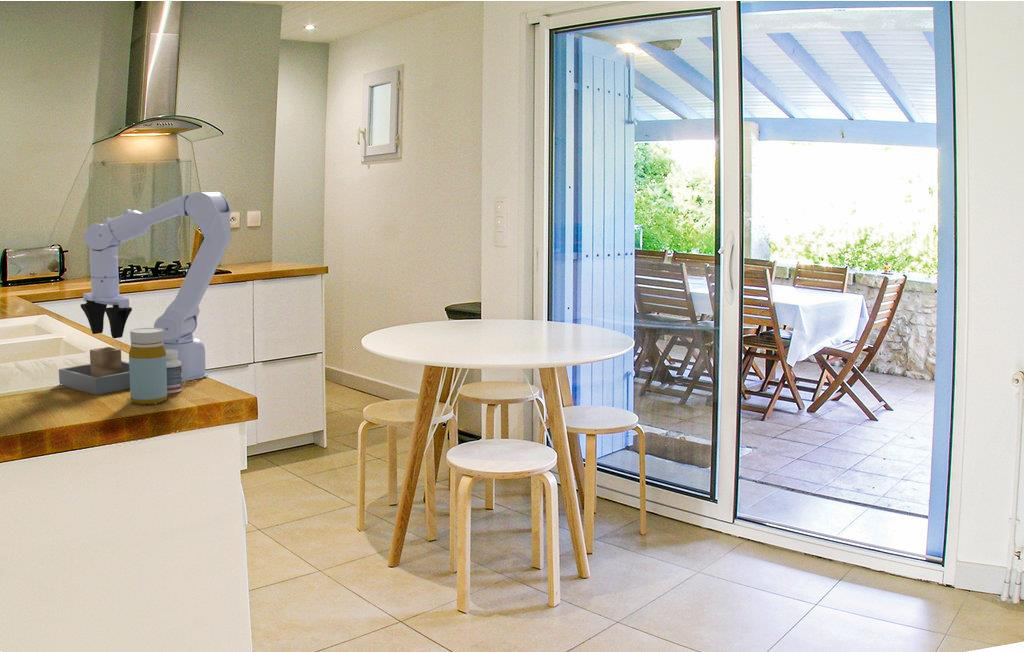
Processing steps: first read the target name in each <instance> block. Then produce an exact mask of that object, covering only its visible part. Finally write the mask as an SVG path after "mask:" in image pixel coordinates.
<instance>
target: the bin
mask: <svg viewBox="0 0 1024 652" xmlns="http://www.w3.org/2000/svg"><path fill="white" fill-rule="evenodd" d="M121 364H122V373H119V374H114V375H108V376H103V377H97V378H96V377H93V376H91V367H90V363H87V364H82V365H75V366H70V367H65V368H64V367H63V368H59V369H58V380H59V381H58V382H59V383H60V384H62V385H63V387H66V388H70V389H74V390H78V391H80V392H84V393H87V394H90V395H96V396H99V395H103V394H108V393H113V392H117V391H122V390H127V389H130V372H129V361H128V362H127V361H125V360H121ZM59 383H58V384H59ZM60 384H59V385H60ZM62 385H61V386H62Z"/></svg>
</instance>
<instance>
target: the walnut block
mask: <svg viewBox="0 0 1024 652" xmlns="http://www.w3.org/2000/svg"><path fill="white" fill-rule="evenodd" d="M89 359H90V360H89V361H90V362H89V364H90V367H91V376H93V377H96V378H97V377H103V376H108V375H114V374H119V373H122V364H121V361H122V350H121V349H120V348H114V347H111V346H106V347H98V348H93V349H89Z"/></svg>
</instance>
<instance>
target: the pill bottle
mask: <svg viewBox="0 0 1024 652" xmlns="http://www.w3.org/2000/svg"><path fill="white" fill-rule="evenodd" d="M165 351H166V368H167V394H175V393H179V392H182V390H183V382H182V364H181V361H179V360H177V358H178V351H177V350H172V349H168V350H165Z"/></svg>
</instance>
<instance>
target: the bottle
mask: <svg viewBox="0 0 1024 652" xmlns="http://www.w3.org/2000/svg"><path fill="white" fill-rule="evenodd" d="M128 362H129V372H130V388H129V391H130V393H129V394H130V395H129V396H130V401H131V402H132V403H133V404H135V405H138V406H139V405H140V406H147V405H146V404H154V405H156V404H155V403H159V404H161V403H160V402H162V403H164V402H165V401H166V400H167V398H168V393H167V368H166V351H165V349H164V346H163V329H160V328H154V327H139V328H134V329H130V348H129V352H128ZM163 401H164V402H163Z"/></svg>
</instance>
